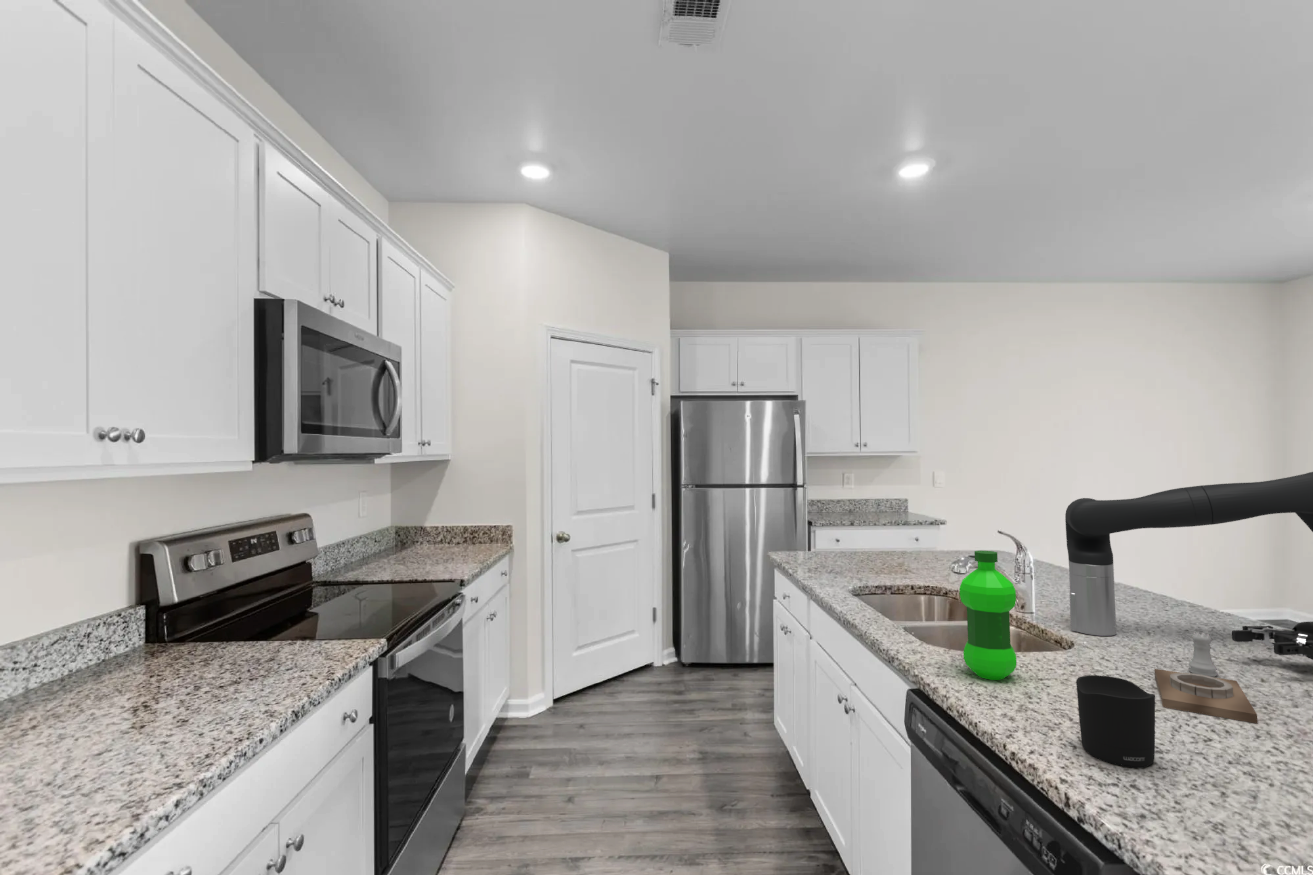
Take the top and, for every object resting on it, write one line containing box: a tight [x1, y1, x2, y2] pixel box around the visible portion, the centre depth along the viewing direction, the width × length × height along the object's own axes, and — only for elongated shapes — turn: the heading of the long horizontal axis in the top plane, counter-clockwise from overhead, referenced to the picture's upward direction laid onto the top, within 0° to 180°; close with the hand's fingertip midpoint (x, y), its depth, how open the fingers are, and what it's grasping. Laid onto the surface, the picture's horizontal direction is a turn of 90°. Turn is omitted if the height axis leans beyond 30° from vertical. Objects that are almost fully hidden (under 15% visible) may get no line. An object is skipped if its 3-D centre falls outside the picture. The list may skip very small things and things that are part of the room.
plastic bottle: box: [959, 550, 1017, 681], centre depth 124 cm, size 10×10×25 cm
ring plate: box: [1153, 668, 1258, 724], centre depth 110 cm, size 12×18×3 cm, turn 144°
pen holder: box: [1075, 674, 1156, 769], centre depth 91 cm, size 9×9×10 cm
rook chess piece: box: [1188, 631, 1219, 678], centre depth 122 cm, size 4×4×8 cm
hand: (1253, 642), depth 123 cm, fingers open, 8 cm apart
